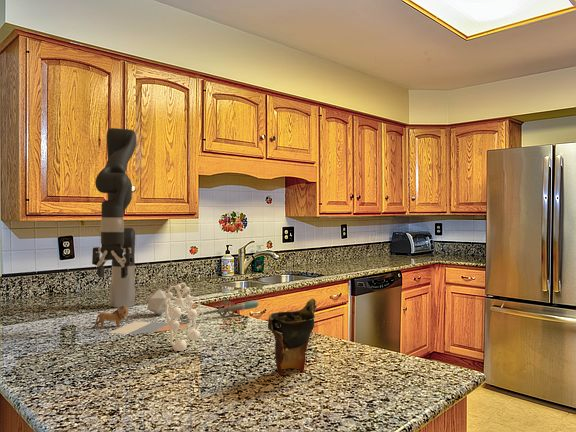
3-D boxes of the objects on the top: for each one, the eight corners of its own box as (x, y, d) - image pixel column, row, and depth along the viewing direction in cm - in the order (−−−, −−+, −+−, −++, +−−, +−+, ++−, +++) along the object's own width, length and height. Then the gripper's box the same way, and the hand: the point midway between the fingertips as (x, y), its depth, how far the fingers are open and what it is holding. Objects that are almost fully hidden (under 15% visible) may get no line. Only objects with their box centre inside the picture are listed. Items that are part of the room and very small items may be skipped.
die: (165, 318, 175) (164, 291, 175) (143, 317, 177) (143, 290, 177) (174, 313, 184) (174, 287, 184) (153, 312, 185) (153, 287, 185)
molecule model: (196, 272, 134) (186, 271, 136) (159, 298, 123) (149, 296, 126) (213, 329, 140) (203, 327, 143) (179, 359, 130) (169, 356, 132)
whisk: (174, 331, 171) (170, 313, 172) (250, 315, 189) (246, 299, 190) (183, 326, 162) (180, 307, 164) (262, 310, 180) (258, 293, 182)
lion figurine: (128, 324, 165) (128, 304, 165) (129, 327, 161) (129, 306, 161) (91, 328, 160) (91, 307, 160) (92, 331, 156) (92, 309, 156)
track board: (89, 332, 154) (89, 331, 154) (117, 321, 170) (117, 320, 170) (167, 337, 148) (167, 336, 148) (188, 325, 164) (188, 324, 164)
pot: (297, 363, 123) (297, 295, 123) (332, 372, 116) (332, 300, 116) (251, 381, 110) (251, 305, 110) (289, 393, 103) (289, 311, 103)
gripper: (87, 230, 159) (87, 278, 159) (125, 231, 156) (125, 279, 156) (100, 230, 166) (100, 275, 166) (136, 230, 163) (137, 276, 163)
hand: (112, 277), depth 161 cm, fingers open, 8 cm apart
